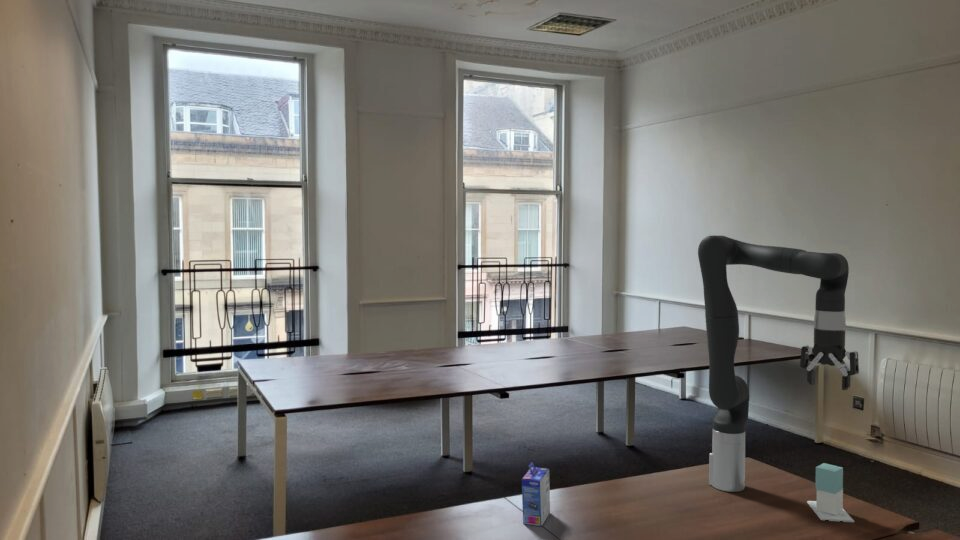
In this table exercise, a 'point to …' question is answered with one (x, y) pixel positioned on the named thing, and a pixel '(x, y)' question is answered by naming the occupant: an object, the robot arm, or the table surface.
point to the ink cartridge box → (535, 495)
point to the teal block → (829, 478)
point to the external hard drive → (826, 516)
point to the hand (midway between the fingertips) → (828, 387)
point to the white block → (829, 502)
